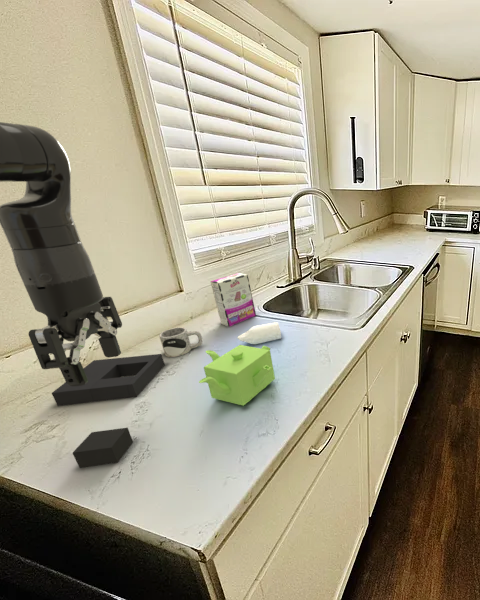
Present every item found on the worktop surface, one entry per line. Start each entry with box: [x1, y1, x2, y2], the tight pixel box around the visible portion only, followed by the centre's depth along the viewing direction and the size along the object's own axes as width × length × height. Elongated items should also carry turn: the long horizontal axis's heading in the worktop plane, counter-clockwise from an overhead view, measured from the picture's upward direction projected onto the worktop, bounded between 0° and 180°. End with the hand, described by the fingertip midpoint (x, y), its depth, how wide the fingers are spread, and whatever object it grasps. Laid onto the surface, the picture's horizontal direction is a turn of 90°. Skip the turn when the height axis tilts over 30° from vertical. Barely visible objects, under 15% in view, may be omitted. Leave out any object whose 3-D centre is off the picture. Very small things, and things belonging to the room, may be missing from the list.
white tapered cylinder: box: [236, 321, 282, 345], centre depth 101 cm, size 6×12×6 cm, turn 121°
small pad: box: [72, 427, 134, 469], centre depth 60 cm, size 6×5×4 cm
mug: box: [158, 326, 204, 358], centre depth 96 cm, size 10×7×7 cm, turn 114°
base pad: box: [51, 353, 166, 407], centre depth 81 cm, size 16×14×4 cm
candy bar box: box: [210, 272, 257, 328], centre depth 114 cm, size 11×5×16 cm, turn 150°
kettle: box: [198, 344, 276, 407], centre depth 76 cm, size 15×14×11 cm
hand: (97, 369), depth 54 cm, fingers open, 8 cm apart
